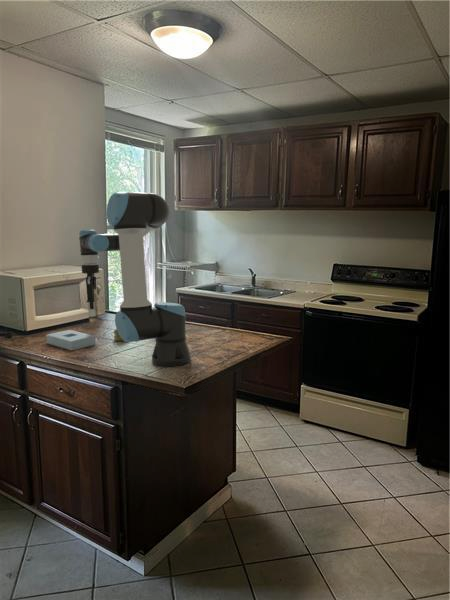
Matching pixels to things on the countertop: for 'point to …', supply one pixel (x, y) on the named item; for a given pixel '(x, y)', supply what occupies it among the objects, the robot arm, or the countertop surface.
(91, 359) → the countertop surface
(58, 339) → the slate board
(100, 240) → the robot arm
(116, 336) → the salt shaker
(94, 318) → the beech peg
